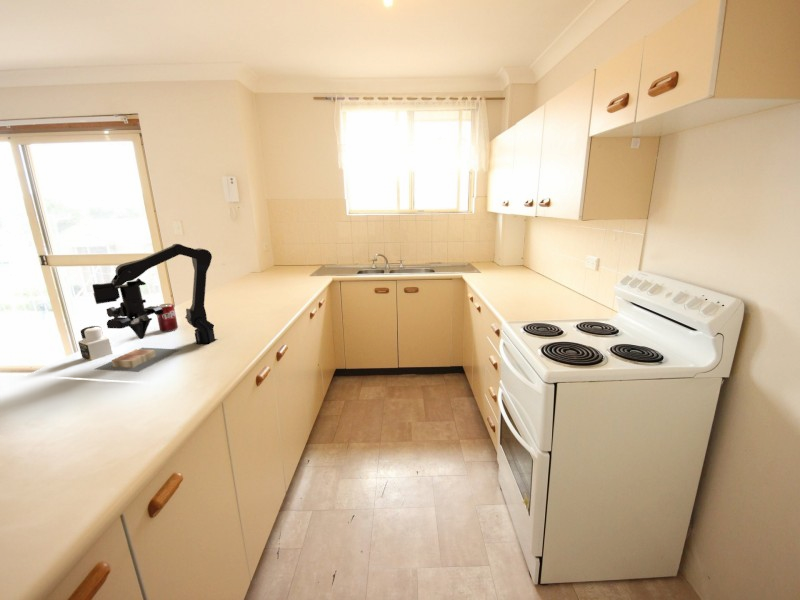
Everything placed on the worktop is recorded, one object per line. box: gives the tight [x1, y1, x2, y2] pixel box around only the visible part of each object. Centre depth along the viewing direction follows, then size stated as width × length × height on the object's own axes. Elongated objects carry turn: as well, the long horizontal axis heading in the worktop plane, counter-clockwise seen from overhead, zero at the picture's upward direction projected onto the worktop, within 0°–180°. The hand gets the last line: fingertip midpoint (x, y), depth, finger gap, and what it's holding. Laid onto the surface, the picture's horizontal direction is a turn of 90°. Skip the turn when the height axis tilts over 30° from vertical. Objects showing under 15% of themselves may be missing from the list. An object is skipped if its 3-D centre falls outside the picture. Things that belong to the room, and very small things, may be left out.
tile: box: [111, 348, 156, 368], centre depth 130 cm, size 8×2×10 cm
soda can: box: [156, 303, 179, 333], centre depth 165 cm, size 7×7×12 cm
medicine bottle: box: [78, 325, 113, 361], centre depth 135 cm, size 7×7×12 cm
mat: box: [94, 347, 182, 373], centre depth 132 cm, size 18×20×1 cm
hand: (141, 338), depth 133 cm, fingers closed
